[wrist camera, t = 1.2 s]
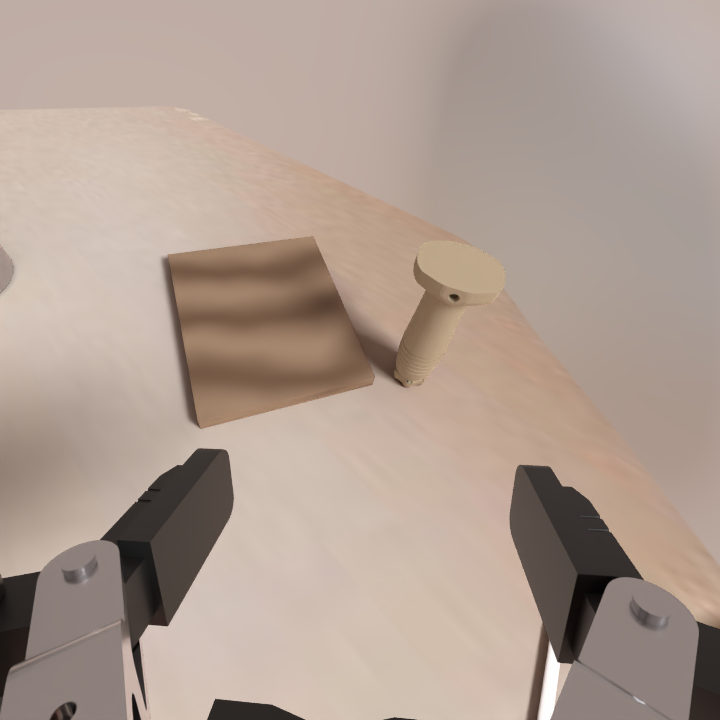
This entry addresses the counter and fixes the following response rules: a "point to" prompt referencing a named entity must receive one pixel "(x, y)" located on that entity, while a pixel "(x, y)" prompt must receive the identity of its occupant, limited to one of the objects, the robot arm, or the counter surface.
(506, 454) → the counter surface
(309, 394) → the walnut board
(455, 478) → the counter surface
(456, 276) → the handle
